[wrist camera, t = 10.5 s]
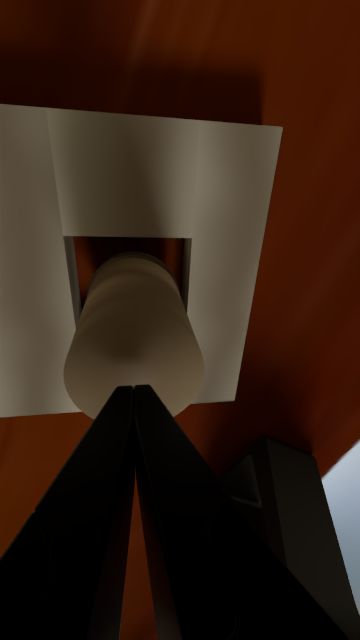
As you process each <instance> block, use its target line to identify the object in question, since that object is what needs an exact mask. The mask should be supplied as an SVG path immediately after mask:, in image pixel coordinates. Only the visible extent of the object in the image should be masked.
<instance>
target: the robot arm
mask: <svg viewBox="0 0 360 640" xmlns="http://www.w3.org/2000/svg"><path fill="white" fill-rule="evenodd" d="M135 466H136V481H137V489H138V497H139V504H140V511H141V519H142V526H143V533H144V540H145V548H146V555H147V562H148V569H149V577H150V584H151V591H152V598H153V606H154V613H155V620H156V628H157V635H158V640H351V639H350V638H349V637H348V636H347V635H346V634H345V633H344V631H343V630H342V629H341V628H340V627H339V626H338V625H337V624H336V622H335V621H334V620H333V619H332V618H331V617H330V616H329V614H328V613H327V612H326V611H325V610H324V609H323V608H322V607H321V605H320V604H319V603H318V602H317V601H316V600H315V599H314V597H313V596H312V595H311V594H310V593H309V592H308V591H307V589H306V588H305V587H304V586H303V585H302V584H301V583H300V582H299V580H298V579H297V578H296V577H295V576H294V575H293V574H292V572H291V571H290V570H289V569H288V568H287V567H286V566H285V565H284V563H283V562H282V561H281V560H280V559H279V558H278V556H277V555H276V554H275V553H274V552H273V550H272V549H271V548H270V547H269V546H268V545H267V543H266V542H265V541H264V540H263V539H262V537H261V536H260V535H259V534H258V533H257V531H256V530H255V529H254V528H253V526H252V525H251V524H250V522H249V521H248V520H247V518H246V517H245V516H244V514H243V513H242V512H241V510H240V509H239V508H238V506H237V505H236V504H235V502H234V501H233V499H232V498H231V497H230V495H229V494H228V492H227V491H226V490H225V489H223V486H222V484H221V483H220V482H219V480H218V479H217V477H216V476H215V475H214V473H213V472H212V470H211V469H210V468H209V466H208V465H207V463H206V462H205V461H204V459H203V458H202V456H201V455H200V454H199V452H198V451H197V449H196V448H195V447H194V445H193V444H192V442H191V441H190V440H189V438H188V437H187V435H186V434H185V433H184V431H183V430H182V428H181V427H180V426H179V424H178V423H177V421H176V420H175V419H174V417H173V416H172V414H171V413H170V412H169V410H168V409H167V407H166V406H165V405H164V403H163V402H162V400H161V399H160V398H159V396H158V395H157V393H156V392H155V391H154V389H153V388H152V386H151V385H149V384H142V385H135V386H134V388H133V386H132V385H125V386H117V387H116V388H115V390H114V391H113V393H112V394H111V396H110V397H109V399H108V400H107V402H106V403H105V405H104V406H103V408H102V409H101V410H100V412H99V413H98V415H97V416H96V418H95V419H94V421H93V422H92V424H91V425H90V427H89V428H88V430H87V431H86V433H85V434H84V436H83V437H82V439H81V440H80V442H79V443H78V445H77V446H76V448H75V449H74V451H73V452H72V454H71V455H70V457H69V458H68V460H67V461H66V463H65V464H64V466H63V467H62V469H61V470H60V472H59V473H58V475H57V476H56V478H55V479H54V481H53V482H52V484H51V485H50V487H49V488H48V490H47V491H46V492H45V494H44V495H43V497H42V498H41V500H40V501H39V503H38V504H37V506H36V507H35V512H32V513H31V514H30V516H29V517H28V519H27V520H26V522H25V523H24V525H23V526H22V528H21V529H20V531H19V532H18V534H17V535H16V537H15V538H14V540H13V541H12V543H11V544H10V545H9V547H8V548H7V550H6V551H5V552H4V554H3V555H2V557H1V558H0V640H119V634H120V624H121V614H122V604H123V595H124V585H125V575H126V565H127V555H128V545H129V535H130V525H131V515H132V505H133V496H134V485H135Z"/></svg>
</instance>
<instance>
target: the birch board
mask: <svg viewBox="0 0 360 640" xmlns="http://www.w3.org/2000/svg"><path fill="white" fill-rule="evenodd" d="M282 129H283V127H277V126H264V125H252V124H240V123H228V122H215V121H203V120H191V119H179V118H166V117H154V116H142V115H130V114H117V113H105V112H93V111H81V110H68V109H56V108H44V107H32V106H19V105H7V104H0V417H12V416H26V415H40V414H54V413H68V412H82V411H81V410H80V409H79V408H78V407H77V406H76V405H75V404H74V403H73V402H72V400H71V398H70V397H69V395H68V393H67V391H66V388H65V384H64V378H63V371H64V364H65V360H66V357H67V354H68V351H69V348H70V346H71V343H72V340H73V337H74V334H75V331H76V328H77V325H78V322H79V319H80V316H81V313H82V307H81V299H80V291H79V282H78V274H77V266H76V257H75V249H74V241H73V236H100V237H156V238H184V253H183V271H182V290H181V300H182V302H183V305H184V308H185V310H186V313H187V316H188V318H189V321H190V324H191V326H192V329H193V332H194V334H195V337H196V340H197V342H198V345H199V347H200V350H201V353H202V356H203V359H204V366H205V372H204V379H203V383H202V386H201V388H200V390H199V392H198V394H197V395H196V397H195V398H194V400H193V401H192V402H191V403H190V404H194V403H208V402H222V401H235V395H236V389H237V384H238V378H239V372H240V367H241V361H242V355H243V350H244V344H245V338H246V333H247V327H248V321H249V316H250V310H251V304H252V299H253V293H254V287H255V282H256V276H257V270H258V265H259V259H260V254H261V248H262V242H263V237H264V231H265V225H266V220H267V214H268V208H269V203H270V197H271V191H272V186H273V180H274V174H275V169H276V163H277V157H278V152H279V146H280V140H281V135H282Z"/></svg>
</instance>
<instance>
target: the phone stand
mask: <svg viewBox="0 0 360 640" xmlns="http://www.w3.org/2000/svg"><path fill="white" fill-rule="evenodd" d="M218 480H219V482H220V483H221V484H222V486H223V489H225V490H226V491H227V492H228V494H229V495H230V497H231V498H232V499H233V501H234V502H235V504H236V505H237V506H238V508H239V509H240V510H241V512H242V513H243V514H244V516H245V517H246V518H247V520H248V521H249V522H250V524H251V525H252V526H253V528H254V529H255V530H256V531H257V533H258V534H259V535H260V536H261V537H262V539H263V540H264V541H265V542H266V543H267V545H268V546H269V547H270V548H271V549H272V550H273V552H274V553H275V554H276V555H277V556H278V558H279V559H280V560H281V561H282V562H283V563H284V565H285V566H286V567H287V568H288V569H289V570H290V571H291V572H292V574H293V575H294V576H295V577H296V578H297V579H298V580H299V582H300V583H301V584H302V585H303V586H304V587H305V588H306V589H307V591H308V592H309V593H310V594H311V595H312V596H313V597H314V599H315V600H316V601H317V602H318V603H319V604H320V605H321V607H322V608H323V609H324V610H325V611H326V612H327V613H328V614H329V616H330V617H331V618H332V619H333V620H334V621H335V622H336V624H337V625H338V626H339V627H340V628H341V629H342V630H343V631H344V633H345V634H346V635H347V636H348V637H349V638H350V639H351V640H360V615H359V613H358V610H357V607H356V604H355V601H354V597H353V594H352V590H351V586H350V583H349V579H348V575H347V572H346V568H345V565H344V561H343V557H342V554H341V550H340V547H339V543H338V539H337V535H336V532H335V528H334V525H333V521H332V517H331V514H330V510H329V506H328V503H327V499H326V495H325V492H324V488H323V485H322V481H321V477H320V474H319V470H318V466H317V463H316V459H315V457H313V456H311V455H309V454H306V453H304V452H302V451H299V450H297V449H295V448H292V447H290V446H287V445H285V444H283V443H280V442H278V441H276V440H273V439H271V438H269V437H266V436H264V435H262V436H261V437H260V438H259V439H258V440H257V441H256V442H255V443H254V444H253V445H252V446H251V447H250V448H249V449H248V450H247V451H246V452H245V453H244V454H243V455H242V456H240V457H239V458H238V459H237V460H236V461H235V462H234V463H233V464H232V465H231V466H230V470H226V471H225V472H224V473H223V474H222V475H221V476H220V477H219V478H218Z"/></svg>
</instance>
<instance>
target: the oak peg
mask: <svg viewBox="0 0 360 640" xmlns="http://www.w3.org/2000/svg"><path fill="white" fill-rule="evenodd" d="M204 372H205V366H204V359H203V356H202V353H201V350H200V347H199V345H198V342H197V340H196V337H195V334H194V332H193V329H192V326H191V324H190V321H189V318H188V316H187V313H186V310H185V308H184V305H183V302H182V300H181V297H180V291H179V287H178V284H177V282H176V279H175V277H174V276H173V274H172V272H171V271H170V270H169V269H168V268H167V266H166V265H165V264H164V263H163V262H162V261H160V260H159V259H158V258H156V257H154V256H152V255H150V254H147V253H144V252H138V251H128V252H122V253H119V254H116V255H114V256H112V257H110V258H109V259H107V260H106V261H105V262H104V263H103V264H102V265H101V266H100V267H99V268H98V270H97V271H96V272H95V274H94V275H93V277H92V279H91V281H90V284H89V287H88V291H87V299H86V302H85V305H84V307H83V310H82V313H81V316H80V319H79V322H78V325H77V328H76V331H75V334H74V337H73V340H72V343H71V346H70V348H69V351H68V354H67V357H66V360H65V364H64V371H63V378H64V384H65V388H66V391H67V393H68V395H69V397H70V398H71V400H72V402H73V403H74V404H75V405H76V406H77V407H78V408H79V409H80V410H81V411H82V412H83V413H85V414H86V415H88V416H89V417H91V418H93V419H95V418H96V416H97V415H98V413H99V412H100V410H101V409H102V408H103V406H104V405H105V403H106V402H107V400H108V399H109V397H110V396H111V394H112V393H113V391H114V390H115V388H116V387H117V386H125V385H132V386H133V388H134V386H135V385H142V384H149V385H151V386H152V388H153V389H154V391H155V392H156V393H157V395H158V396H159V398H160V399H161V400H162V402H163V403H164V405H165V406H166V407H167V409H168V410H169V412H170V413H171V414H172V416H173V417H174V416H175V415H177V414H178V413H180V412H181V411H183V410H184V409H185V408H186V407H187V406H188V405H189V404H190V403H191V402H192V401H193V400H194V398H195V397H196V395H197V394H198V392H199V390H200V388H201V386H202V383H203V379H204Z"/></svg>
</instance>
